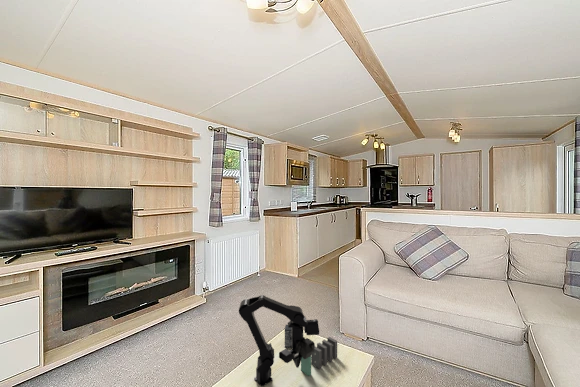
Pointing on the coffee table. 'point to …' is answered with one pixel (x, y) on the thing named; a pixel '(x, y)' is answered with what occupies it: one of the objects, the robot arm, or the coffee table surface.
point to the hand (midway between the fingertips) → (297, 367)
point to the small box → (288, 336)
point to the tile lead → (306, 365)
